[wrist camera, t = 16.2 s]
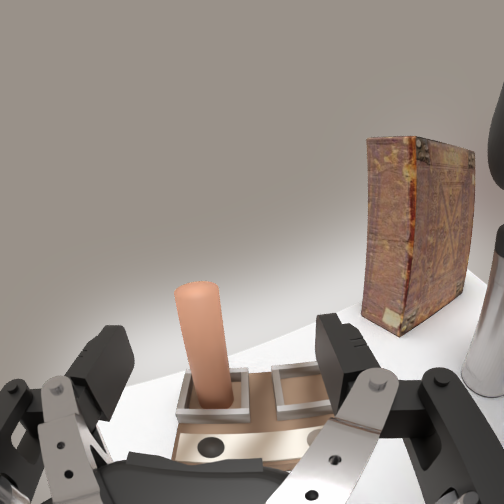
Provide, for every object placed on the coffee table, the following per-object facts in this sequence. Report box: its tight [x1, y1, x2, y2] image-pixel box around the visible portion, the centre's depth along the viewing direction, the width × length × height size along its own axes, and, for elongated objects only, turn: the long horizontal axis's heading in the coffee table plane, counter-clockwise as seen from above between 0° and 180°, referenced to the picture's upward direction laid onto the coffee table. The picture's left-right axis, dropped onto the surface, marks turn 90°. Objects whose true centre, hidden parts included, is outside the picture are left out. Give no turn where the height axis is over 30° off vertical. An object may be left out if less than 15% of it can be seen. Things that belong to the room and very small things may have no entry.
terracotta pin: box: [174, 281, 234, 409], centre depth 27 cm, size 4×4×14 cm
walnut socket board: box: [171, 361, 334, 471], centre depth 27 cm, size 18×14×3 cm
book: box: [361, 136, 475, 337], centre depth 44 cm, size 25×9×30 cm, turn 116°
